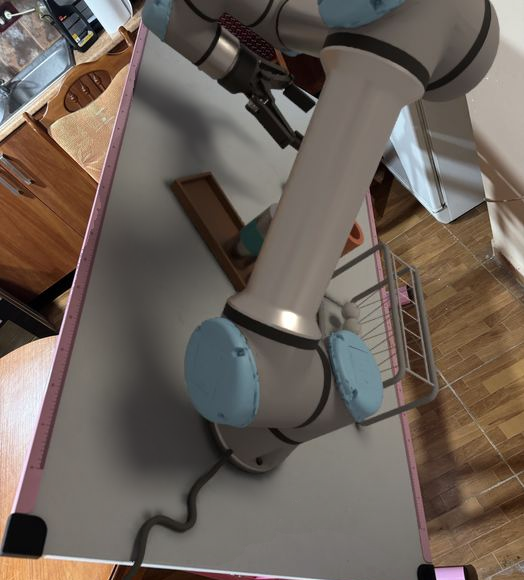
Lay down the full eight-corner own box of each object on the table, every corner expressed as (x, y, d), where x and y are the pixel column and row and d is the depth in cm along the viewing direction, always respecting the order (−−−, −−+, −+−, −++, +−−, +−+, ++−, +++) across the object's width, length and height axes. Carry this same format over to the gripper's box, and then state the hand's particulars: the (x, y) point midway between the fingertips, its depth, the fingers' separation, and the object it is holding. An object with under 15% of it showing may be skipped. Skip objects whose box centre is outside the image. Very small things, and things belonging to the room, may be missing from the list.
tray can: (236, 273, 98) (284, 238, 90) (217, 244, 97) (264, 206, 90) (255, 264, 102) (301, 230, 95) (236, 236, 102) (282, 199, 94)
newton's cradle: (359, 430, 105) (442, 398, 94) (321, 412, 99) (404, 377, 88) (349, 302, 121) (418, 263, 110) (315, 281, 115) (385, 237, 104)
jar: (314, 275, 116) (355, 248, 109) (296, 246, 115) (336, 217, 108) (328, 266, 121) (368, 240, 114) (310, 238, 121) (350, 210, 114)
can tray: (255, 320, 97) (263, 315, 96) (169, 185, 95) (175, 179, 94) (284, 301, 105) (291, 296, 103) (204, 177, 103) (210, 171, 102)
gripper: (215, 35, 104) (296, 102, 116) (212, 124, 91) (303, 188, 104) (241, 4, 99) (322, 77, 112) (242, 93, 87) (333, 164, 99)
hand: (313, 130), depth 108 cm, fingers open, 13 cm apart
